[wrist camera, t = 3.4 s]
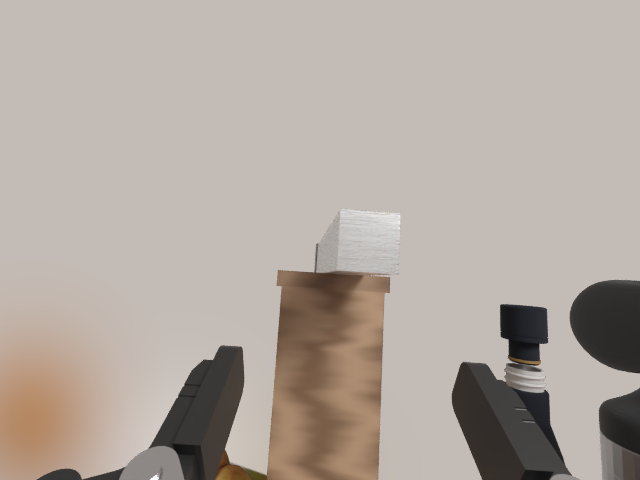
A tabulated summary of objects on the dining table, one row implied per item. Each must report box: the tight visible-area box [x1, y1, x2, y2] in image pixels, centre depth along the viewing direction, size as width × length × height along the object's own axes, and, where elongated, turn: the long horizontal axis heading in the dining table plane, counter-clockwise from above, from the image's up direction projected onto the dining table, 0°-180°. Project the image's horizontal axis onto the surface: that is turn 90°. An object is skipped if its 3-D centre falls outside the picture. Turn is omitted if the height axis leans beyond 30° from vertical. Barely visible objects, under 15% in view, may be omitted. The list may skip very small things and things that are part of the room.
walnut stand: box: [267, 270, 390, 480], centre depth 34 cm, size 11×14×32 cm
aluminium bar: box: [314, 209, 400, 276], centre depth 31 cm, size 4×24×4 cm, turn 4°
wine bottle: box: [500, 304, 565, 465], centre depth 28 cm, size 6×6×30 cm
